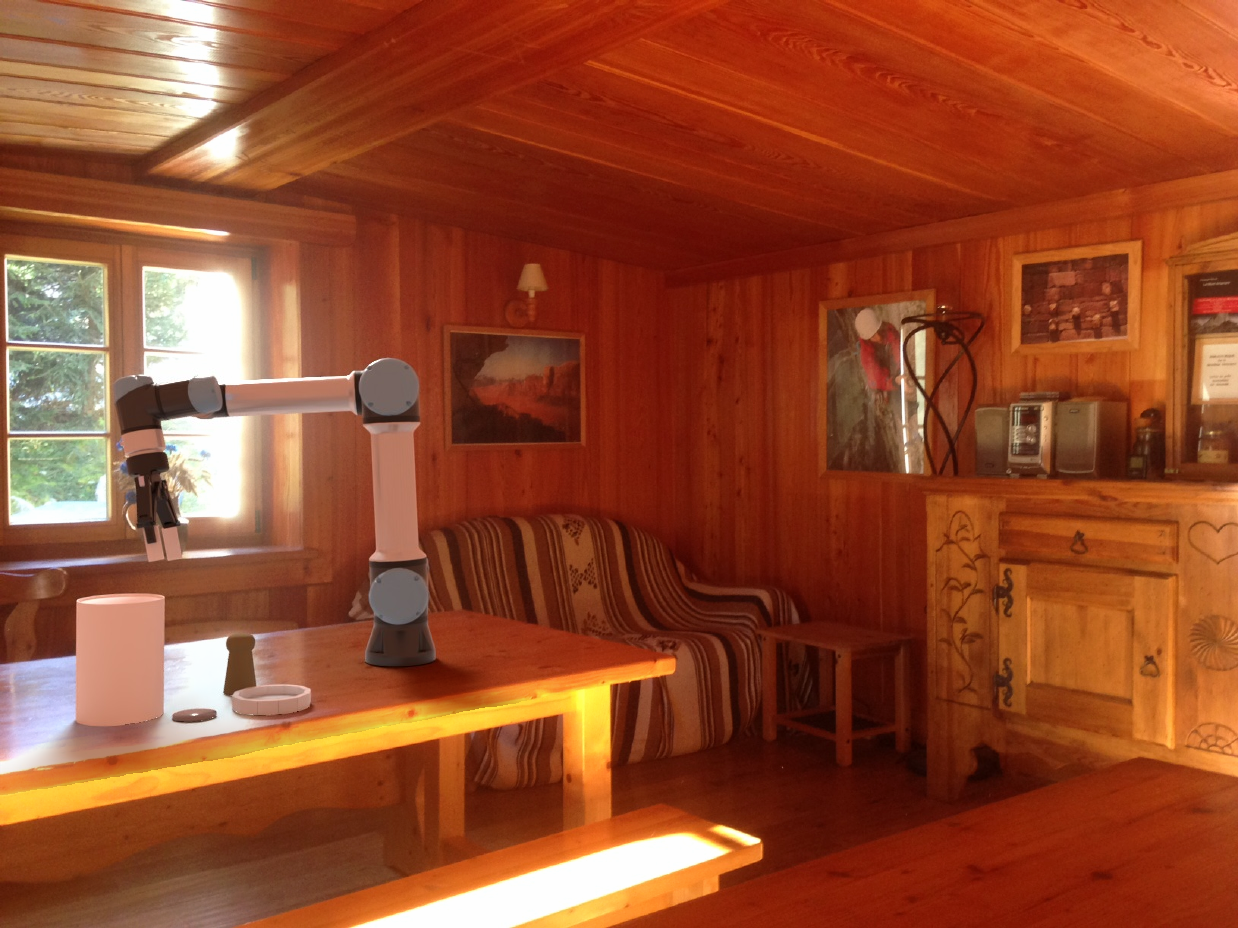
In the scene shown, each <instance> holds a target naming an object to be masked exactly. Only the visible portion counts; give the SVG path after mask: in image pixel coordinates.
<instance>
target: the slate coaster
mask: <svg viewBox="0 0 1238 928" xmlns="http://www.w3.org/2000/svg"><path fill="white" fill-rule="evenodd" d="M216 715H217V716H218V713H217V710H215V709H214V708H213V709H211V708H191V709H184V710H179V711H176V712H174V713H172V715H171V718H172V720H173V721H174V720H176V721H175V722H177V721H184V722H183V723H194V722H193V721H199V722H202V721H201V720H205V721H209V720H208V719H210V718H212V717H215V718H216V717H217V716H216ZM210 720H211V719H210ZM191 721H192V722H191Z"/></svg>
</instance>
